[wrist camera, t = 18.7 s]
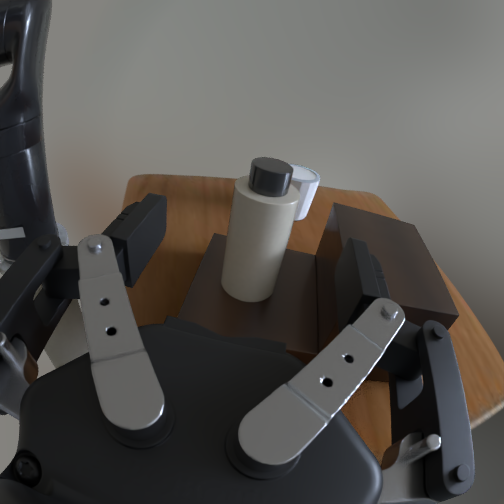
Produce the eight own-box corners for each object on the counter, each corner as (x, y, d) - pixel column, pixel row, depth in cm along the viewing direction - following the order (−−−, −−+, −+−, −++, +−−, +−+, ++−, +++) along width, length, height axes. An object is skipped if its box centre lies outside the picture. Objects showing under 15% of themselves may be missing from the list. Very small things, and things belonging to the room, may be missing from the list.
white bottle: (215, 295, 27) (232, 168, 20) (227, 260, 31) (245, 148, 24) (271, 307, 27) (307, 185, 20) (276, 271, 31) (306, 161, 24)
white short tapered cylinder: (280, 224, 45) (290, 182, 41) (261, 201, 50) (268, 162, 45) (317, 220, 48) (329, 181, 43) (296, 199, 52) (305, 163, 48)
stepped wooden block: (175, 344, 25) (173, 256, 20) (211, 253, 37) (220, 177, 31) (401, 382, 25) (459, 315, 19) (381, 289, 36) (414, 224, 30)
